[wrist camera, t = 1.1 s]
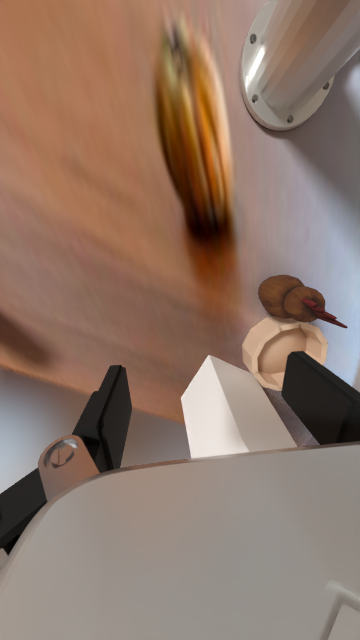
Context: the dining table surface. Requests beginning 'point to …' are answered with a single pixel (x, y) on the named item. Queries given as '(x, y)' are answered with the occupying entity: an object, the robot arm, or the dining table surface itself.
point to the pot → (280, 348)
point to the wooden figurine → (293, 300)
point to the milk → (230, 413)
